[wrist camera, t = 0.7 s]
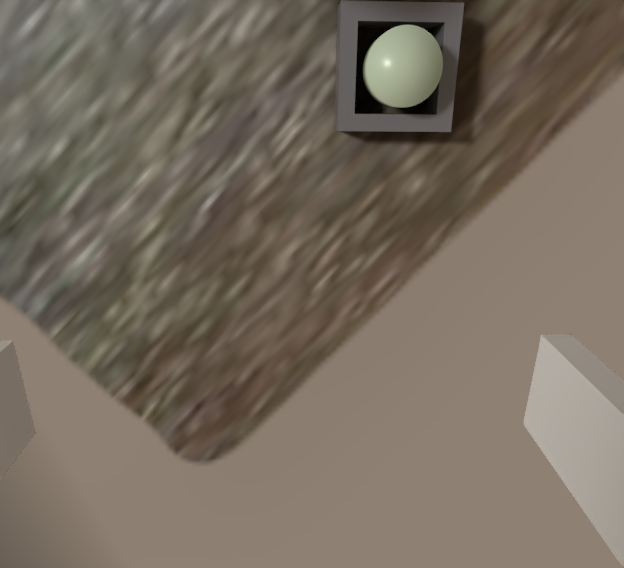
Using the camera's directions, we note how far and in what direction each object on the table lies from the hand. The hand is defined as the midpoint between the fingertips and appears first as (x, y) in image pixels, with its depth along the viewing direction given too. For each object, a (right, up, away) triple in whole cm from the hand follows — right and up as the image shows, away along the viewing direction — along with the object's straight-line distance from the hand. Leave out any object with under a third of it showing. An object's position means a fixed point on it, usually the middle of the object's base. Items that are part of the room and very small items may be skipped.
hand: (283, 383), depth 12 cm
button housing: (+6, +16, +19) cm, 25 cm away
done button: (+6, +15, +16) cm, 23 cm away
